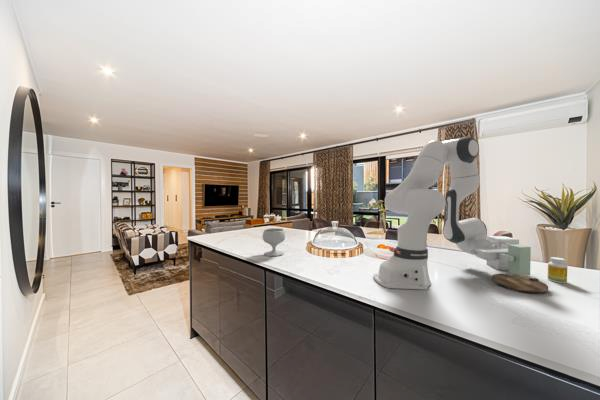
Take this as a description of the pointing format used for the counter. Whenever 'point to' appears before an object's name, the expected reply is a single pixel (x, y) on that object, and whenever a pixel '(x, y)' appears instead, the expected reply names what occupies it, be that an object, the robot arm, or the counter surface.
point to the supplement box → (501, 263)
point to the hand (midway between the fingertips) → (521, 258)
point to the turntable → (520, 282)
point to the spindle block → (519, 259)
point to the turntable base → (519, 290)
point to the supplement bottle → (557, 270)
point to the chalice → (274, 240)
